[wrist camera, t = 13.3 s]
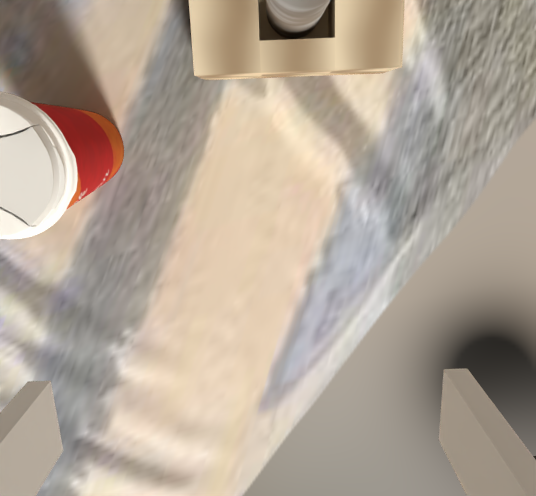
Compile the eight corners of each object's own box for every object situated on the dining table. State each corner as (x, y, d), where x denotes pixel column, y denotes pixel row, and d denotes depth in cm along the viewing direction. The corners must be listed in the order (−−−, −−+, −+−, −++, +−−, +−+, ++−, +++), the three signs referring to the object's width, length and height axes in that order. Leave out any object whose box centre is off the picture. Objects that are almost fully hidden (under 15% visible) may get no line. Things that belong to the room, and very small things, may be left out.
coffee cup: (37, 189, 41) (-89, 234, 27) (39, 88, 39) (-97, 77, 25) (136, 204, 42) (64, 256, 27) (143, 105, 39) (70, 103, 25)
